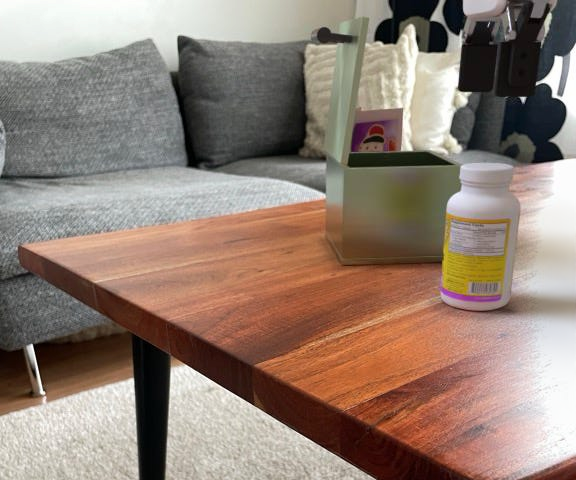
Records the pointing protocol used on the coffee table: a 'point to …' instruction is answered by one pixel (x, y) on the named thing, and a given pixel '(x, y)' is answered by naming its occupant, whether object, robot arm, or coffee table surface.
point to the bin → (389, 206)
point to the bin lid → (343, 83)
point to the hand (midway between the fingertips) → (493, 94)
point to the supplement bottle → (480, 239)
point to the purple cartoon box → (377, 130)
